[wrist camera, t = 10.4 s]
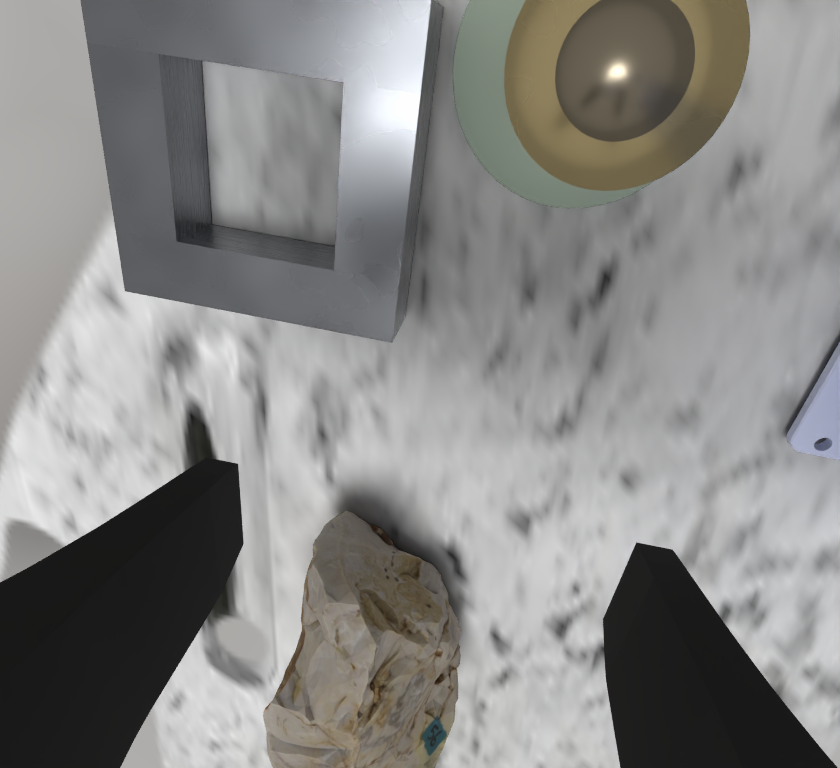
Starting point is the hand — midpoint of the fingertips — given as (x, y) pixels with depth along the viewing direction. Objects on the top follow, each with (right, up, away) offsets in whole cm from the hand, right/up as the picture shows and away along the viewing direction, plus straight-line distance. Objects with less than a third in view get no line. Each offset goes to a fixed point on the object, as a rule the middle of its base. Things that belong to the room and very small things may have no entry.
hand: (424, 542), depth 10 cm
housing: (-4, +10, +7) cm, 13 cm away
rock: (-1, -7, +17) cm, 18 cm away
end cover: (+4, +11, +5) cm, 13 cm away
